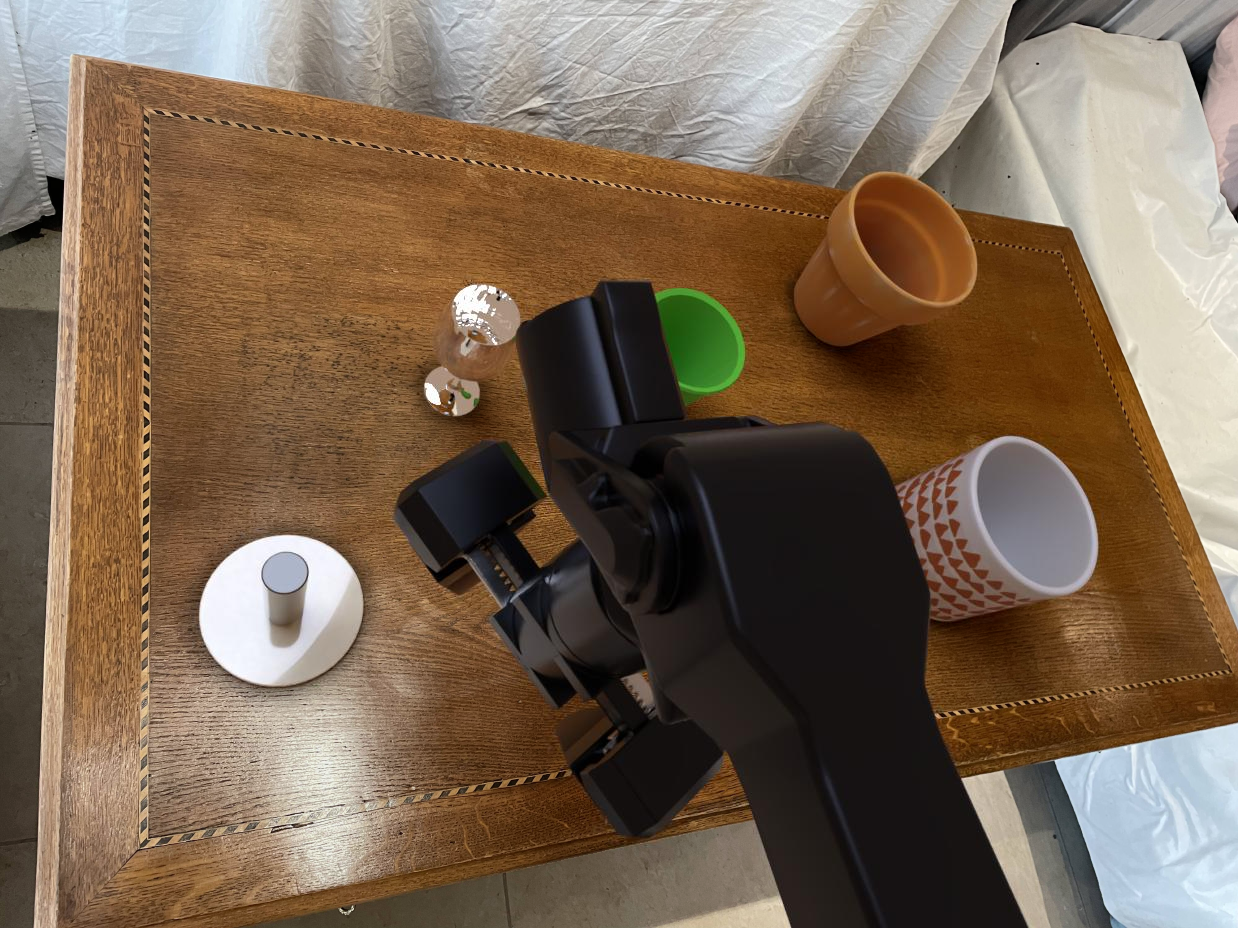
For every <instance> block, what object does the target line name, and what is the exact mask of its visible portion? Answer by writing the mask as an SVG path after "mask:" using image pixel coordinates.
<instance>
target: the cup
mask: <svg viewBox="0 0 1238 928" xmlns="http://www.w3.org/2000/svg"><path fill="white" fill-rule="evenodd" d="M654 294H655V297H656V301H657V305H658V309H659V314H660V318H661V321H662V325H663V329H664V332H665V336H666V339H667V343H668V347H669V350H670V354H671V357H672V361H673V365H674V368H675V372H676V375H677V379H678V383H679V386H680V390H681V393H682V397H683V400H684V404H685V407H686V406H689V405H690V404H693V403H694V402H696V401H698V400H700V399H702V398H704V397H705V396H710V395H716V394H720V393H722V392H724V391H726V390H728V389H730V388H731V387H732V386H733V385H734V384H735V383H736V382H737V381H738V379H739V378H740V377H741V374H742V372H743V370H744V365H745V360H746V346H745V345H746V344H745V341H744V337H743V334H742V331H741V329H740V327H739V325H738V323H737V322H736V319H734V317H733V315H731V313H730V312H729V311H728V310H727V309H726V307H724V306H723V305H722V304H720V303H719V302H718V301H717V300H716V299H714V298H713V297H712V296H709V295H707V294H706V293H704V292H701V291H699V290H695V289H693V288H684V287H675V288H668V289H665V290H662V291H659V292H656V293H654Z"/></svg>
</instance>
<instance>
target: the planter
mask: <svg viewBox="0 0 1238 928" xmlns="http://www.w3.org/2000/svg"><path fill="white" fill-rule="evenodd" d="M1064 463H1065V462H1063V461H1062V459H1060V458H1059V457H1058V456H1056V455H1055V454H1054V453H1053V452H1052V451H1051V450H1049V449H1048V448H1046V447H1044V446H1043V445H1042V444H1039V443H1038V442H1036V441H1034V440H1031V439H1028V438H1025V437H1022V436H1016V435H1005V436H1004V435H1003V436H1000V437H997V438H994V439H992V440H990V441H987V442H985V443H984V444H981V445H979V446H977V447H974V448H972V449H970V450H968V451H966V452H963V453H962V454H959V455H957V456H956V457H953V458H951V459H949V460H947V461H944V462H943V463H940V464H938V465H937V466H935V467H932V468H929V469H928V470H926V471H923V472H921V473H919V474H918V475H915V476H913V477H911V478H909V479H907V480H905V481H902V482H901V483H898V484H897V485H894V486H895V488H896V491H897V494H898V497H899V500H900V503H901V506H902V509H903V512H904V515H905V518H906V521H907V524H908V527H909V530H910V533H911V536H912V539H913V542H914V544H915V547H916V550H917V553H918V556H919V559H920V562H921V565H922V568H923V571H924V574H925V577H926V580H927V583H928V586H929V589H930V593H931V613H930V620H932V621H936V622H937V621H938V622H955V621H960V620H963V619H968V618H973V617H978V616H982V615H987V614H990V613H995V612H999V611H1004V610H1008V609H1012V608H1016V607H1021V606H1026V605H1030V604H1033V603H1038V602H1042V601H1047V600H1051V599H1057V598H1060V597H1064V596H1068V595H1071V594H1073V593H1076V592H1077V591H1079V590H1080V589H1082V588H1083V587H1085V585H1086V584H1088V582H1089V580H1090V579H1091V577H1092V575H1093V574H1094V571H1095V568H1096V566H1097V561H1098V557H1099V536H1098V535H1099V533H1098V528H1097V523H1096V518H1095V515H1094V512H1093V509H1092V507H1091V504H1090V502H1089V499H1088V496H1087V495H1086V493H1085V491H1084V489H1083V487H1082V486H1081V483H1079V481H1078V480H1077V478H1076V476H1075V475H1074V474H1073V473H1072V472H1071V470H1070V469H1069V468H1068V466H1067V465H1066V464H1064Z"/></svg>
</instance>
